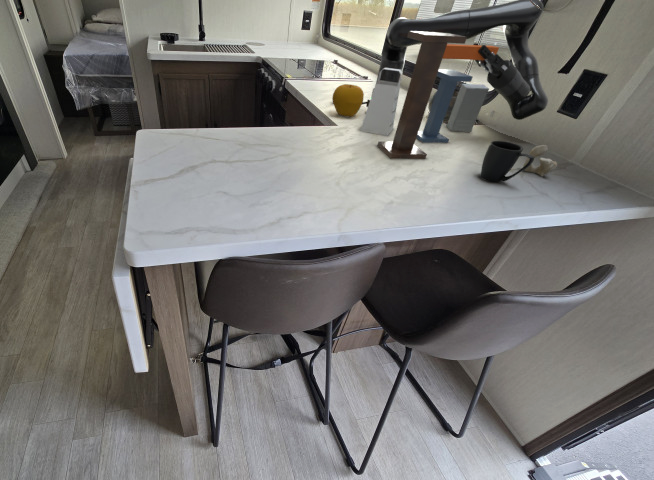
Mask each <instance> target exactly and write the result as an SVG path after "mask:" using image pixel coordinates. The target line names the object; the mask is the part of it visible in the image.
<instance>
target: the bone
mask: <svg viewBox="0 0 654 480" xmlns="http://www.w3.org/2000/svg"><path fill="white" fill-rule="evenodd" d="M546 152H548V145H546V144H540V145H537V146H534V147H533V148H531V149H530V151H529V153H528V155H531V156H533V157H534V159H536V158H537V157H540V156H544V154H546ZM529 160H530V159H529V158H528V157H526V159H525V161H524V164H523V167H524V166H525V165H526V164H527V163H528V162H529ZM539 163H540V165H538V166H537V167H536V166H534V165H533V164H531V165H530V166H529V167H527V168H526V169H525V170H523V171H522V172H528V173H533V174H538V175H539V176H540V177H542V178H544V176H545V175H547V174H549V173H551V172H553V171H554V170H556V168H558V163H557V161H556V160H554V161H553V160H552V159H551V158H545V157H540V158H539ZM523 167H522V168H523Z"/></svg>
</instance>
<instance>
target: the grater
mask: <svg viewBox="0 0 654 480" xmlns="http://www.w3.org/2000/svg"><path fill="white" fill-rule="evenodd" d="M384 69H387V70H395V71H399V72H400V74H401V75H400V79H399V83H396V82H389V81H382V80H380V77H381V72H382V70H383V69H382V70H381V71H380V72H379V71H378V72H379V77H378V76H377V77H378V81H377V80H376V81H377V83H376V82H375V85H374V87H373V89H374V91H373V90H372V92H373V94H372V93H371V96H372V97H371V96H370V98H371V100H370V102H369V105H368V107H366V108H367V109H366V111H365V115H364V118H363V120H362V124H361V126H360V129H359V131H360V132H363V133H364V132H365V133H371V134H375V135H381V136H386V137H388V136H389V134H390V133H391V132H392V131H393V130H394V125H395V119H396V114H397V107H398V101H399V95H400V89H401V81H402V77H403V70H402V71H401V70H400V69H392V68H384Z"/></svg>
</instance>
